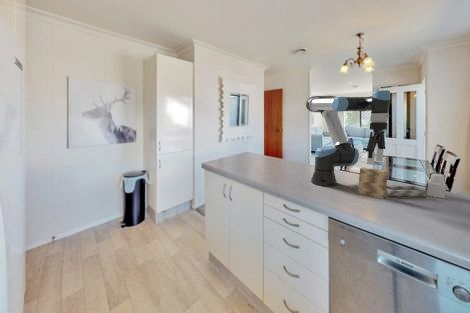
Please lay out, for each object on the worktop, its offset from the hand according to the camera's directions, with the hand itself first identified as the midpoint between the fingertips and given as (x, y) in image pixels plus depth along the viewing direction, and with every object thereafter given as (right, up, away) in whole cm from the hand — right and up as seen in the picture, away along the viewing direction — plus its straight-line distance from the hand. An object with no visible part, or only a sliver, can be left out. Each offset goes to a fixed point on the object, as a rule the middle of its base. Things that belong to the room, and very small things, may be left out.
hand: (374, 162), depth 113 cm
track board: (+16, -17, +3) cm, 24 cm away
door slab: (0, -18, +3) cm, 18 cm away
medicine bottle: (+33, -18, +1) cm, 37 cm away
